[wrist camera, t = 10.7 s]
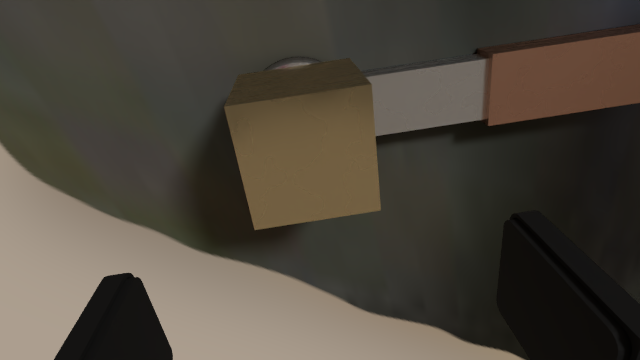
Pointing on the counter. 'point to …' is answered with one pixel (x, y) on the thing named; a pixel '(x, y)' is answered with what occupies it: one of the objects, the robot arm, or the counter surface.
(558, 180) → the counter surface
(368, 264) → the counter surface
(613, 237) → the counter surface
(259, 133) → the mustard yellow cube
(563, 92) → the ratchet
